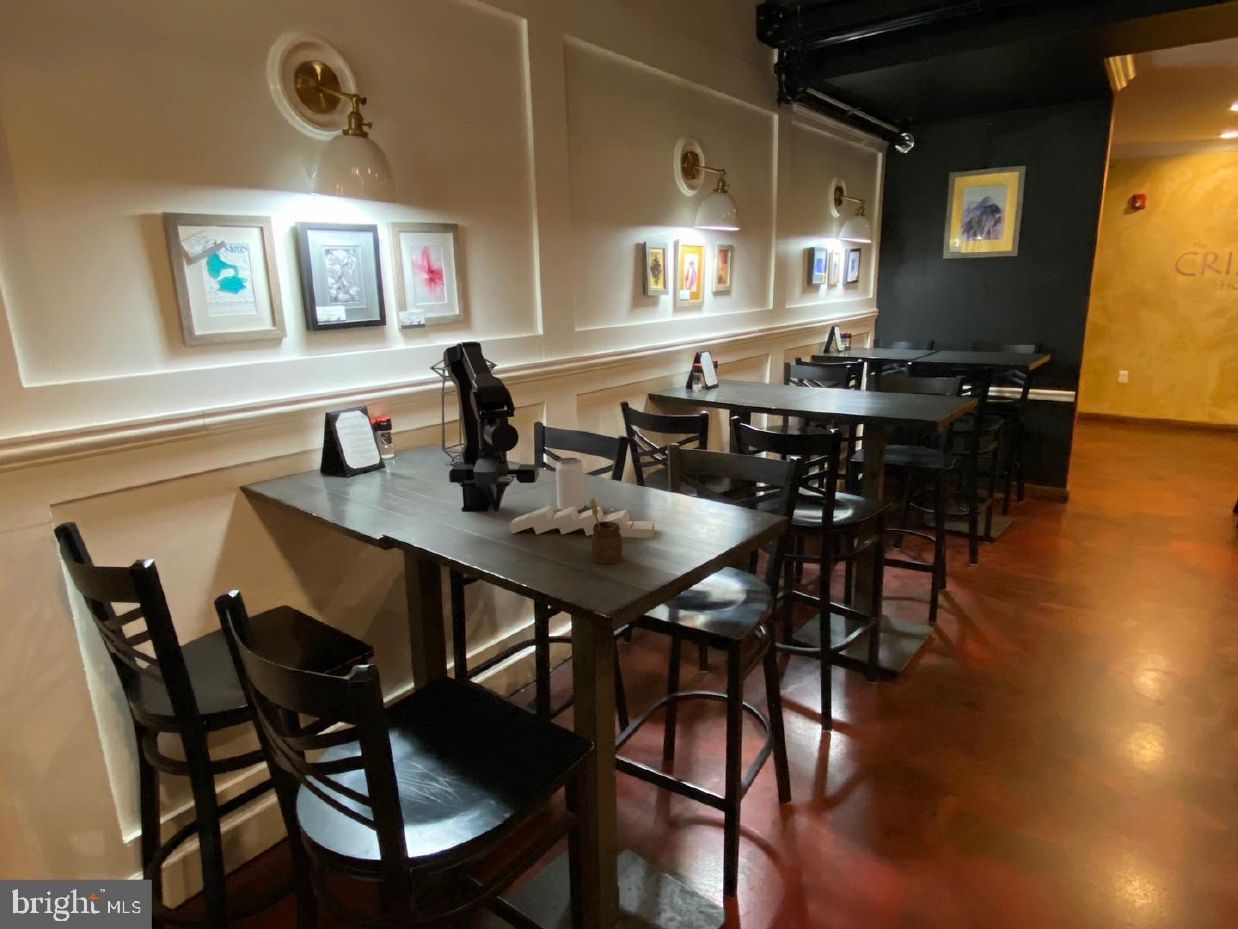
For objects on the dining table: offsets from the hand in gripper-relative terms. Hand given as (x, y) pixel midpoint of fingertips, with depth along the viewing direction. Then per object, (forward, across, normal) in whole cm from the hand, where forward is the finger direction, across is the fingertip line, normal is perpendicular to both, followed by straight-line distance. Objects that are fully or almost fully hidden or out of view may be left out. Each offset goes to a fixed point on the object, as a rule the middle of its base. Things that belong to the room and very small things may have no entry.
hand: (496, 510), depth 157 cm
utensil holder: (+4, +26, -17) cm, 31 cm away
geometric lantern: (+5, -23, +61) cm, 66 cm away
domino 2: (+3, +9, 0) cm, 10 cm away
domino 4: (+3, +20, -1) cm, 21 cm away
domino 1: (+3, +4, 0) cm, 5 cm away
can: (+5, +14, +16) cm, 22 cm away
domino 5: (+4, +26, -1) cm, 26 cm away
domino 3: (+3, +15, 0) cm, 15 cm away
